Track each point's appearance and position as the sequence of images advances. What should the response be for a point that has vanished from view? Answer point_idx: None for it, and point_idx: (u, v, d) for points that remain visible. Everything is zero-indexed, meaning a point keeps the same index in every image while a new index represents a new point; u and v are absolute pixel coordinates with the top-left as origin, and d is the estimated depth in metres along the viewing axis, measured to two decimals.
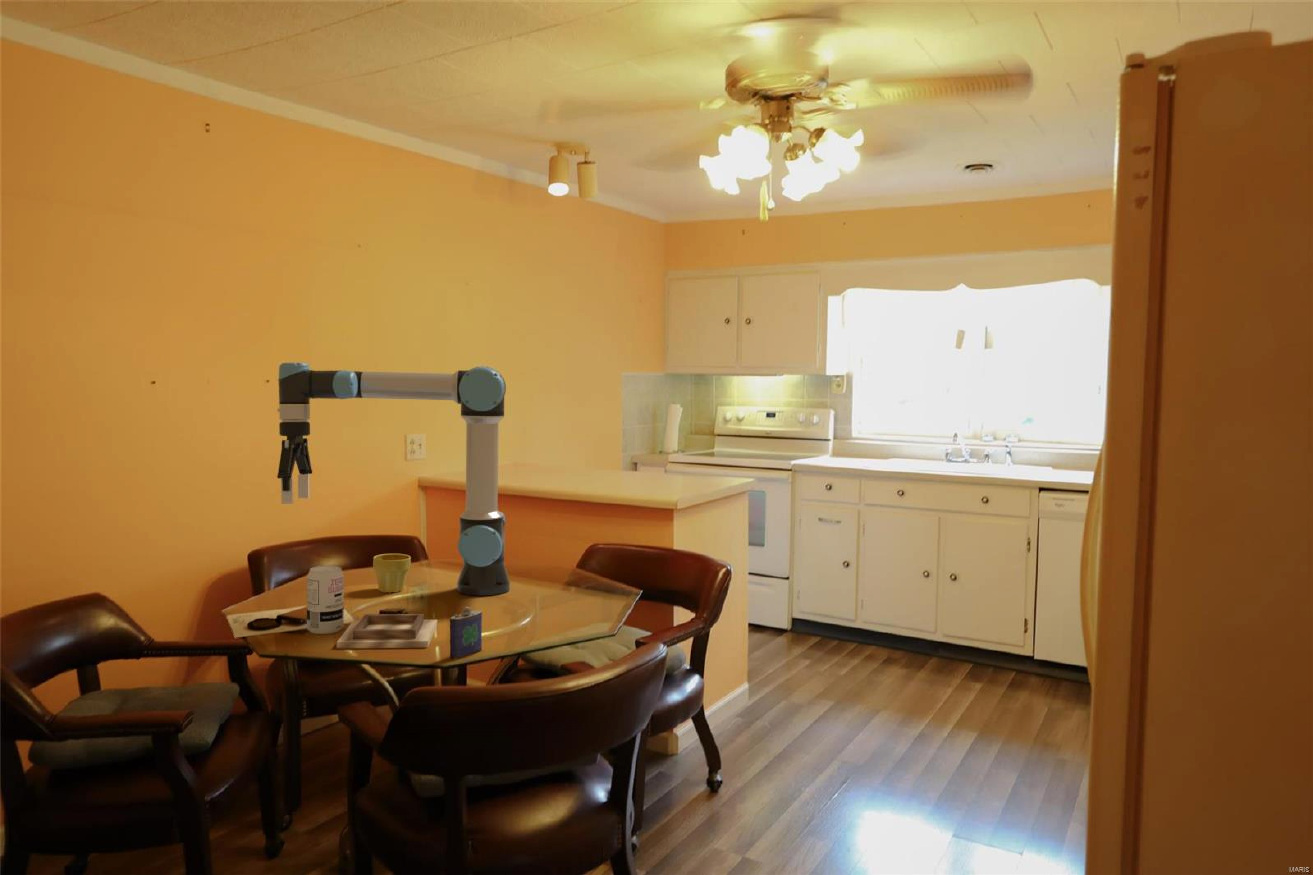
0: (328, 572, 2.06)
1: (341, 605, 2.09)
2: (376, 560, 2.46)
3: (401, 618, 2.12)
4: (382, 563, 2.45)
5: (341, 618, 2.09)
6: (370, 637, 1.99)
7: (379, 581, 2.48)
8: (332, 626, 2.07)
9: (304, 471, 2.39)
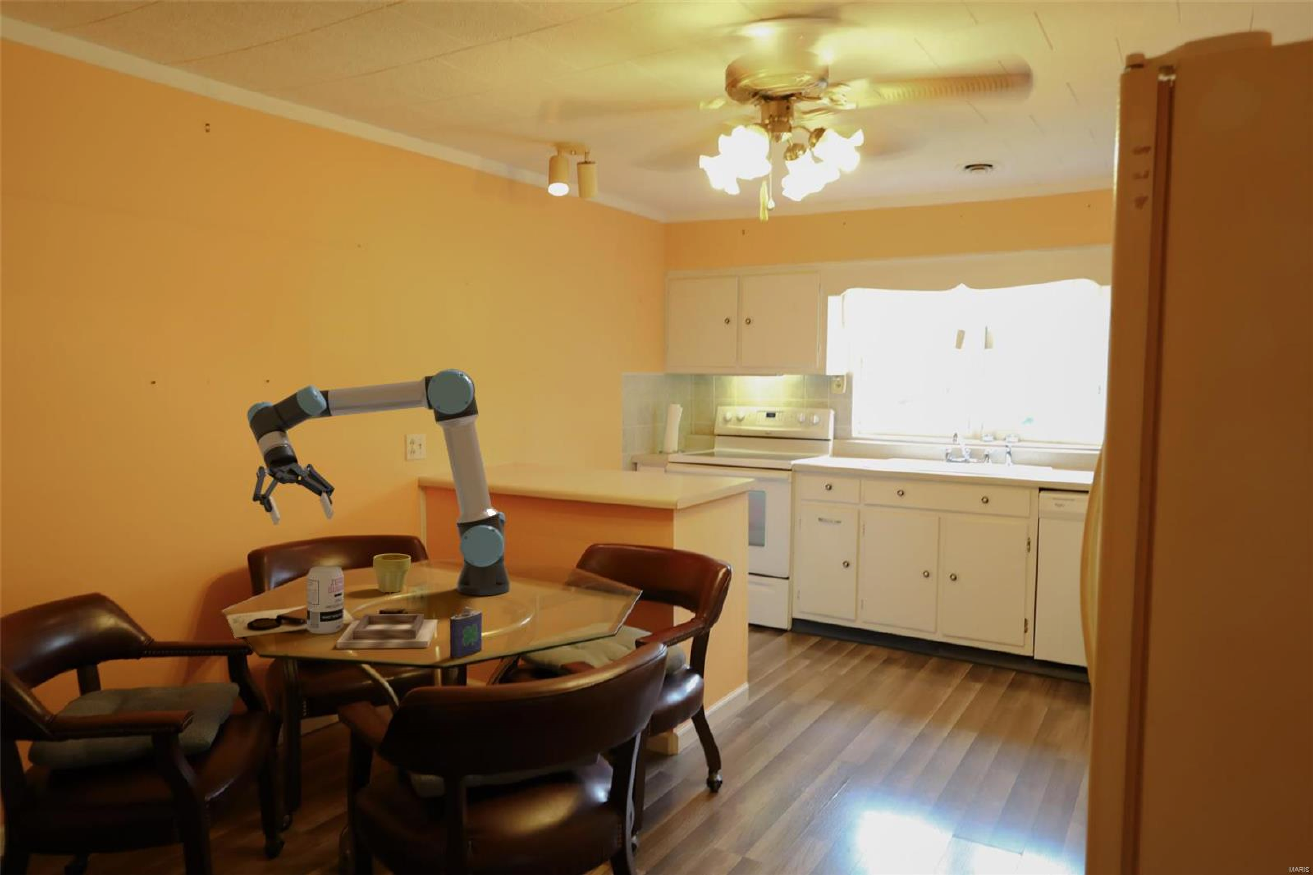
0: (328, 572, 2.06)
1: (341, 605, 2.09)
2: (376, 560, 2.46)
3: (401, 618, 2.12)
4: (382, 563, 2.45)
5: (341, 618, 2.09)
6: (370, 637, 1.99)
7: (379, 581, 2.48)
8: (332, 626, 2.07)
9: (323, 493, 2.24)
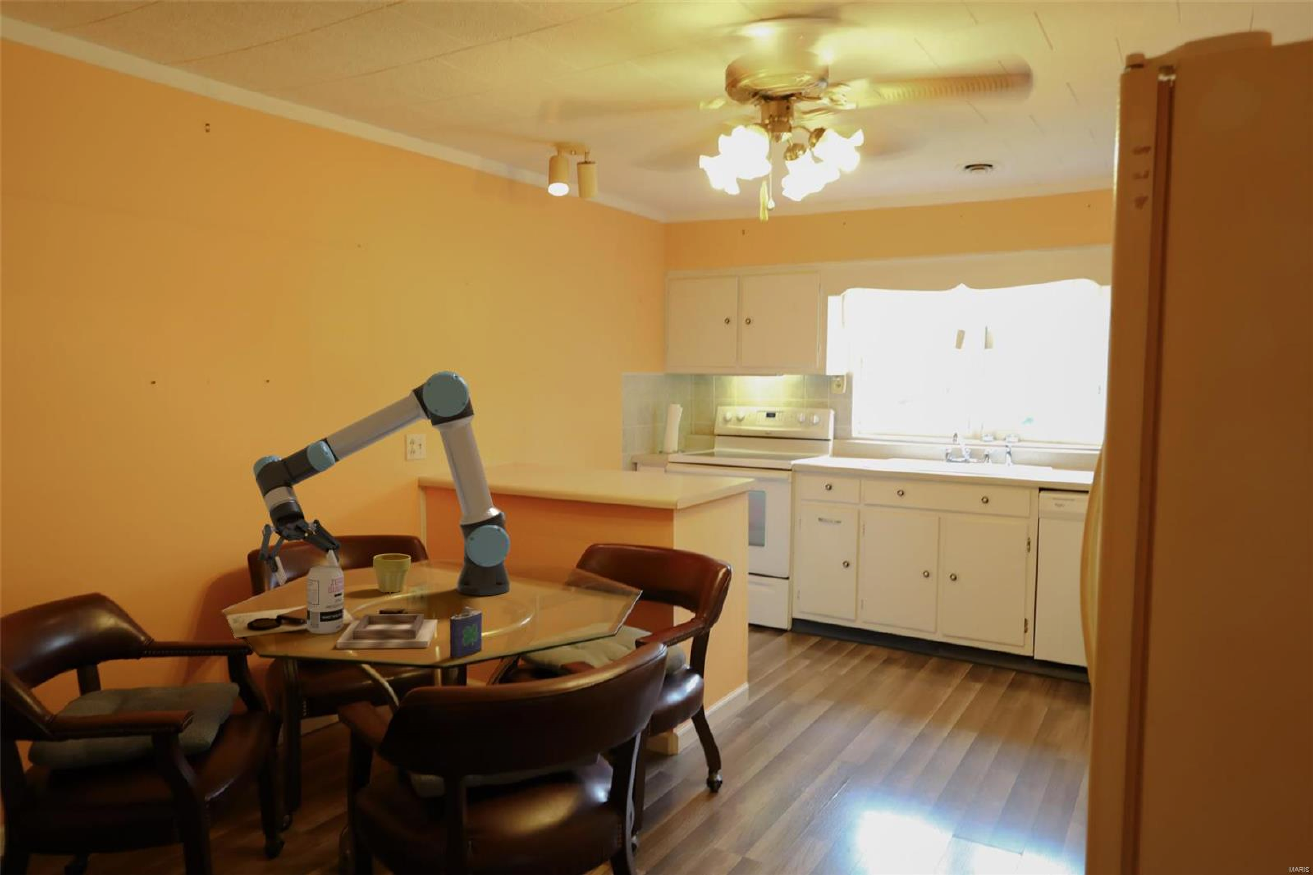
0: (328, 572, 2.06)
1: (341, 605, 2.09)
2: (376, 560, 2.46)
3: (401, 618, 2.12)
4: (382, 563, 2.45)
5: (341, 618, 2.09)
6: (370, 637, 1.99)
7: (379, 581, 2.48)
8: (332, 626, 2.07)
9: (329, 550, 2.21)
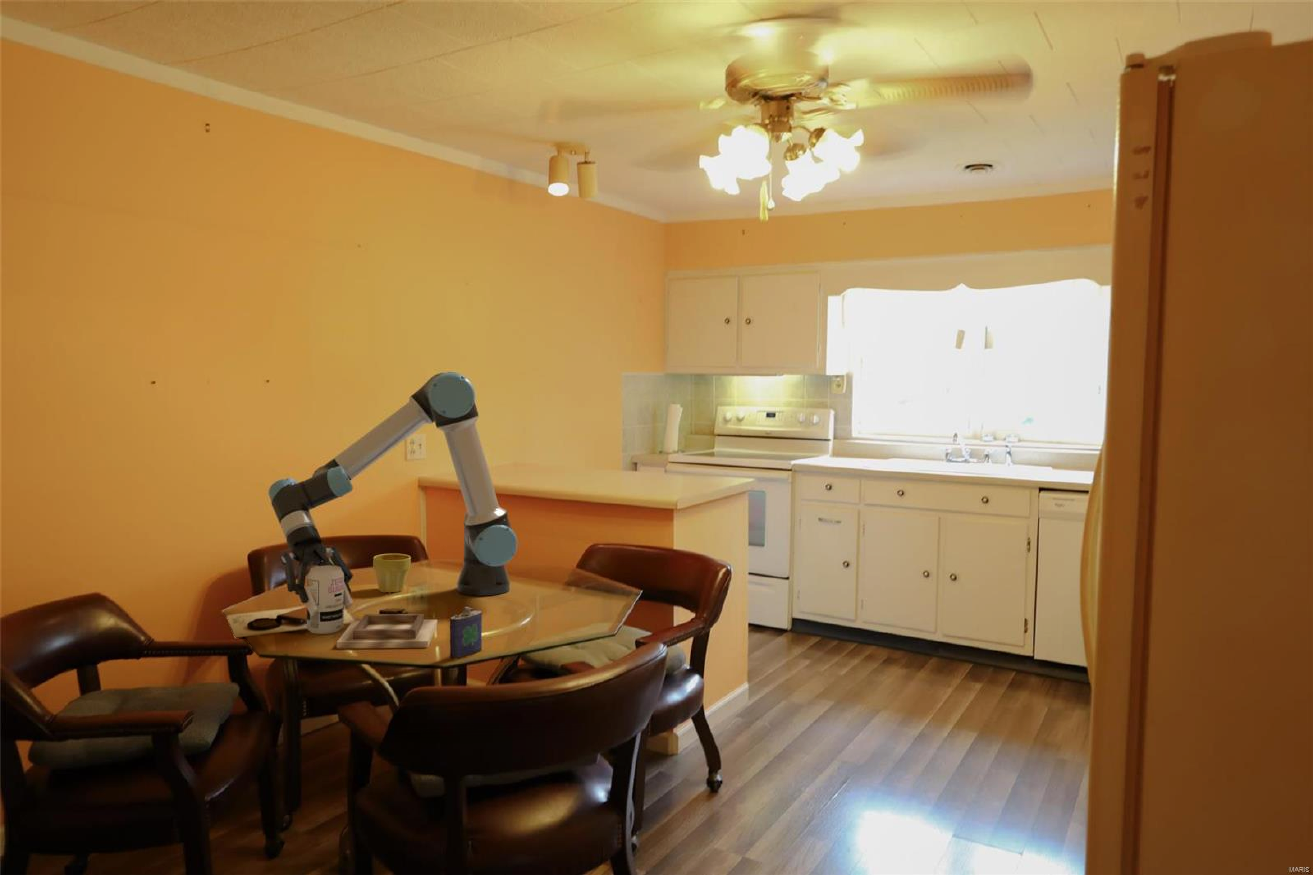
0: (328, 572, 2.06)
1: (341, 605, 2.09)
2: (376, 560, 2.46)
3: (401, 618, 2.12)
4: (382, 563, 2.45)
5: (341, 618, 2.09)
6: (370, 637, 1.99)
7: (379, 581, 2.48)
8: (332, 626, 2.07)
9: None
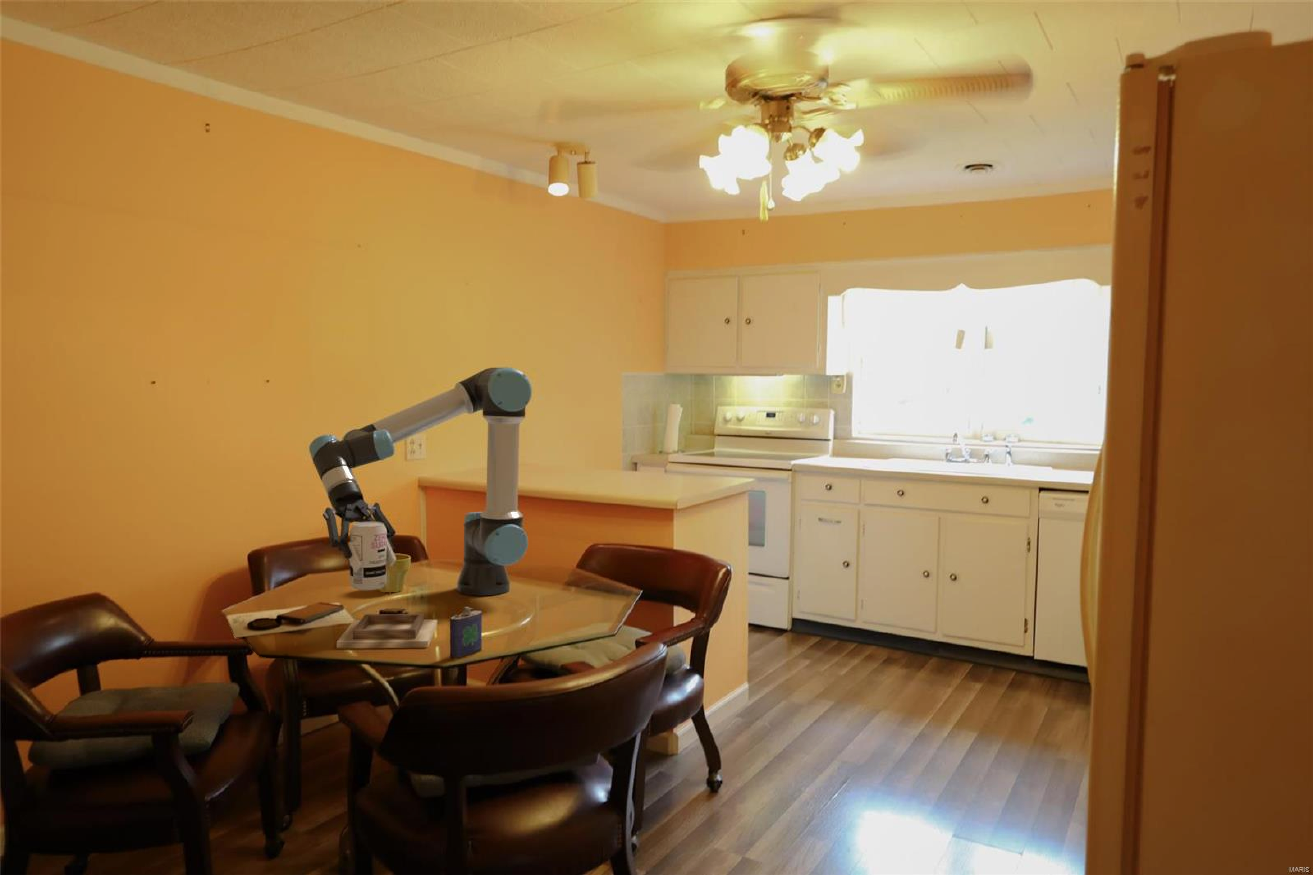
0: (371, 527, 2.02)
1: (384, 561, 2.05)
2: None
3: (401, 618, 2.12)
4: None
5: (384, 574, 2.05)
6: (370, 637, 1.99)
7: None
8: (376, 582, 2.03)
9: None
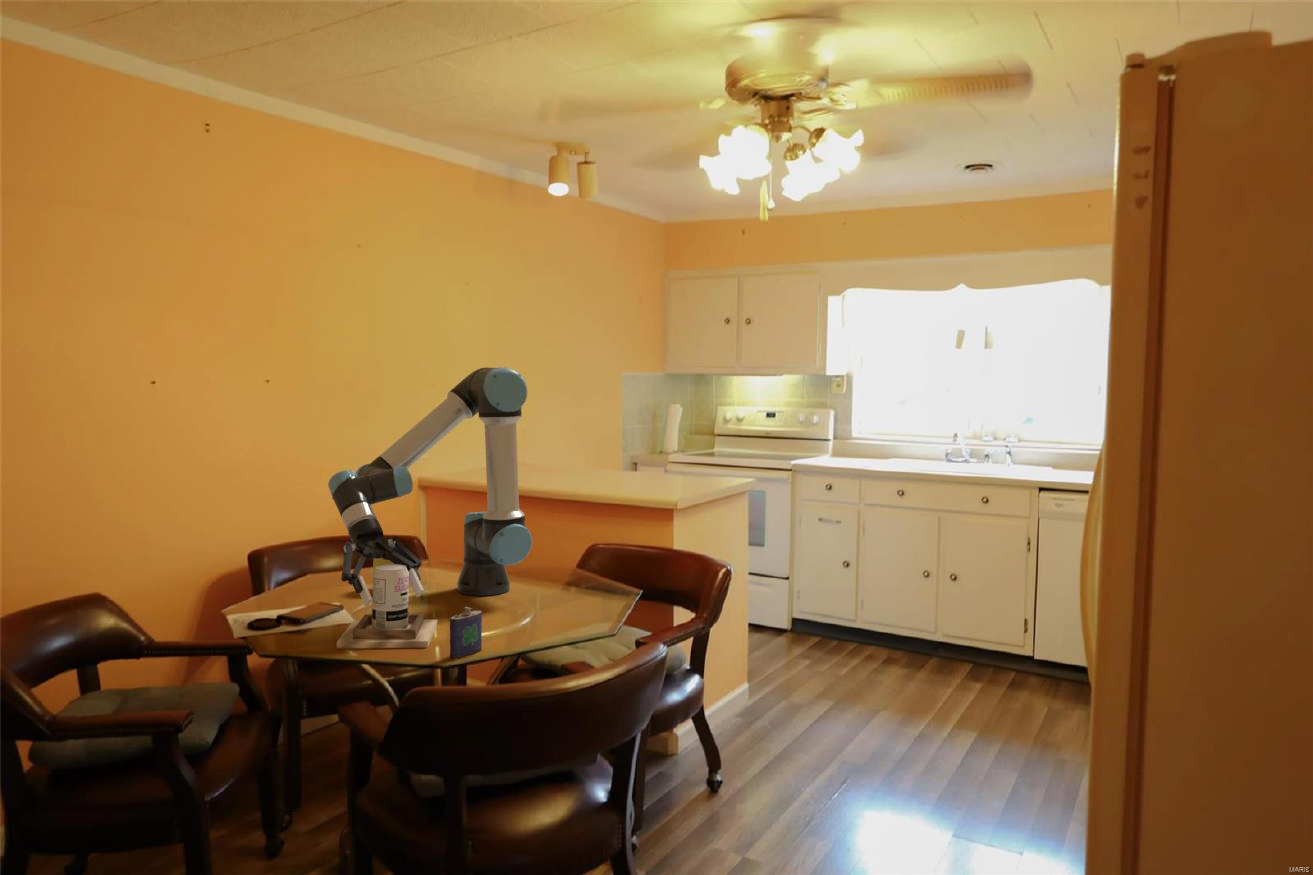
0: (395, 571, 2.03)
1: (407, 604, 2.06)
2: (376, 560, 2.46)
3: None
4: (382, 563, 2.45)
5: (406, 618, 2.06)
6: (370, 637, 1.99)
7: None
8: (398, 626, 2.03)
9: (410, 568, 2.12)
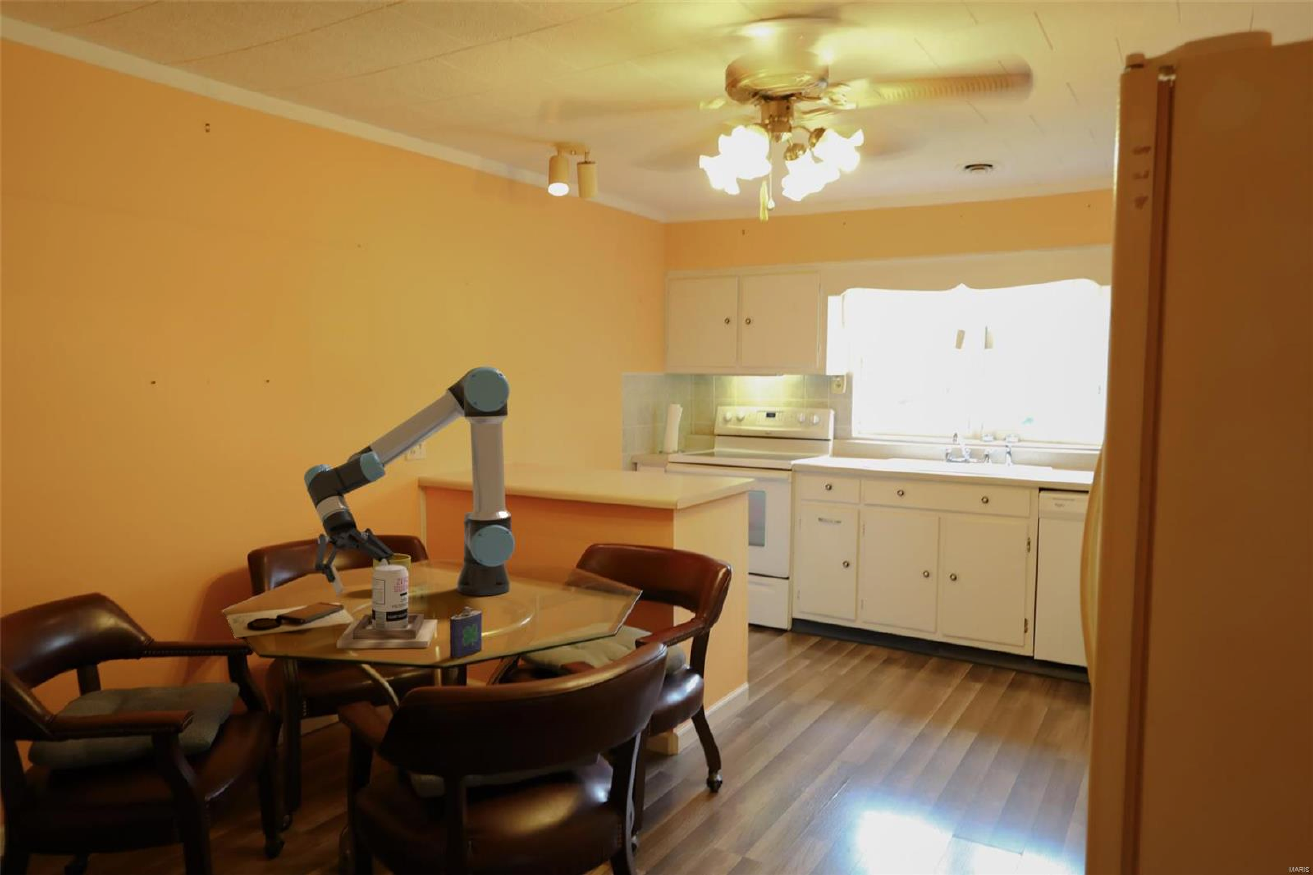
0: (394, 571, 2.02)
1: (406, 604, 2.05)
2: (376, 560, 2.46)
3: None
4: None
5: (406, 618, 2.06)
6: (370, 637, 1.99)
7: None
8: (398, 626, 2.03)
9: (382, 558, 2.21)
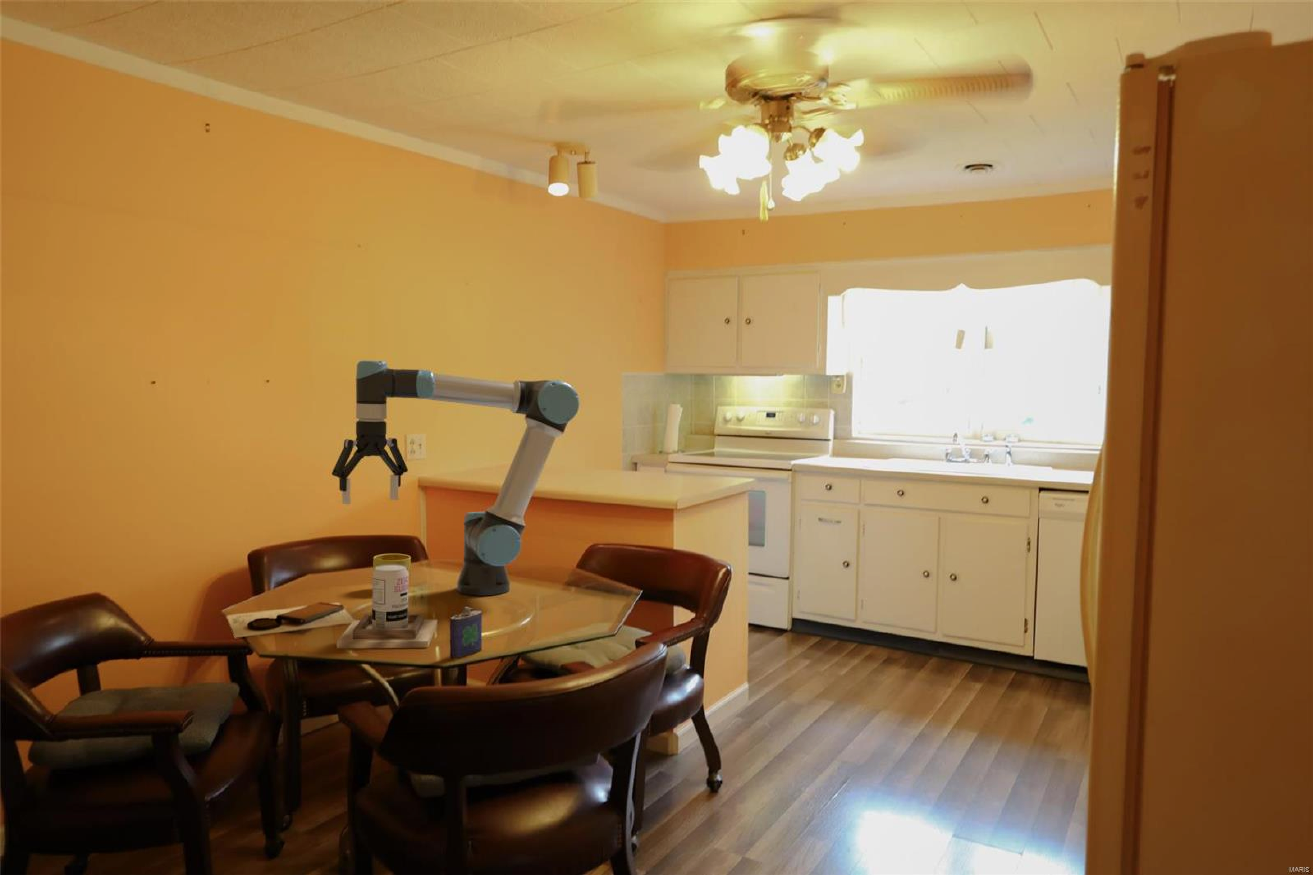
0: (394, 571, 2.02)
1: (406, 605, 2.05)
2: (376, 560, 2.46)
3: None
4: (382, 563, 2.45)
5: (406, 618, 2.06)
6: (370, 637, 1.99)
7: None
8: (398, 626, 2.03)
9: (395, 472, 2.32)
